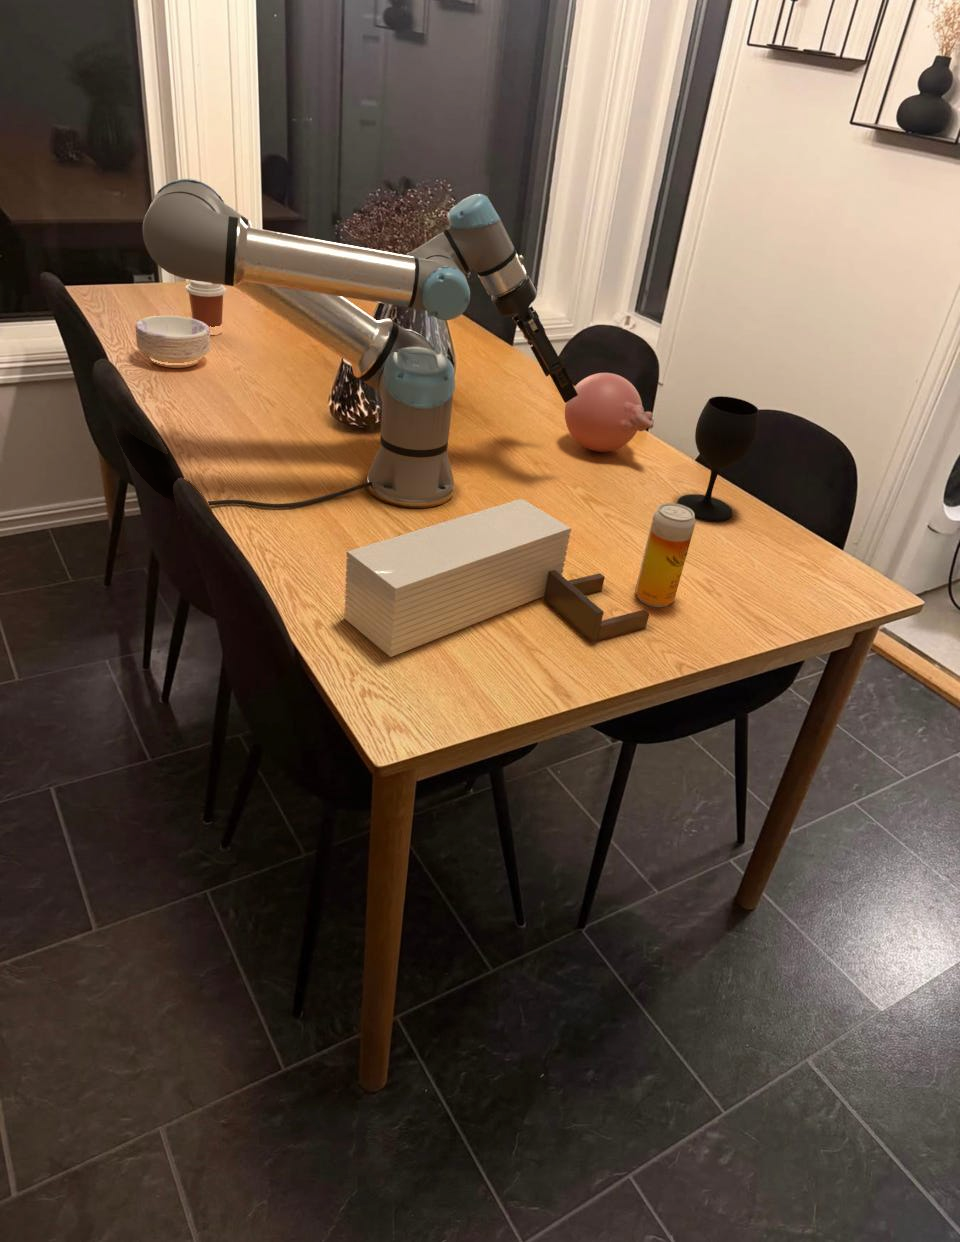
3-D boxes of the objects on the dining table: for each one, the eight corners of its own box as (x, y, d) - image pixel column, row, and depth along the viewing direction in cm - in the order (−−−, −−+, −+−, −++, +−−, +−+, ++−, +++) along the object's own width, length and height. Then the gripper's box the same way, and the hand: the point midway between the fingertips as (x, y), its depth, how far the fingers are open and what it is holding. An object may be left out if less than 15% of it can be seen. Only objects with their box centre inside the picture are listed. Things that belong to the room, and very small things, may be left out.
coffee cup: (222, 339, 217) (220, 287, 211) (183, 335, 217) (180, 282, 210) (231, 328, 225) (229, 277, 218) (193, 324, 224) (190, 273, 218)
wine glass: (735, 504, 173) (765, 403, 162) (729, 527, 165) (761, 422, 154) (680, 491, 176) (707, 390, 165) (672, 513, 167) (699, 408, 156)
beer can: (673, 612, 139) (697, 524, 130) (633, 604, 139) (654, 516, 131) (674, 592, 144) (697, 506, 135) (635, 584, 144) (656, 498, 136)
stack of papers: (512, 559, 147) (521, 498, 141) (559, 590, 140) (571, 527, 134) (344, 618, 127) (346, 551, 122) (390, 657, 121) (395, 588, 115)
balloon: (612, 479, 176) (629, 402, 168) (543, 440, 189) (555, 367, 180) (666, 465, 185) (684, 391, 177) (596, 428, 197) (610, 358, 189)
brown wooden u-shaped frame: (597, 586, 142) (603, 558, 140) (646, 627, 134) (653, 598, 132) (543, 599, 138) (548, 571, 135) (590, 642, 130) (597, 613, 127)
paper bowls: (226, 363, 205) (224, 327, 200) (172, 378, 194) (170, 341, 189) (177, 345, 211) (174, 310, 206) (122, 359, 199) (119, 322, 195)
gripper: (545, 293, 149) (598, 398, 161) (511, 255, 169) (561, 352, 181) (505, 318, 150) (561, 421, 162) (476, 278, 170) (528, 372, 182)
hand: (561, 385), depth 172 cm, fingers open, 13 cm apart
